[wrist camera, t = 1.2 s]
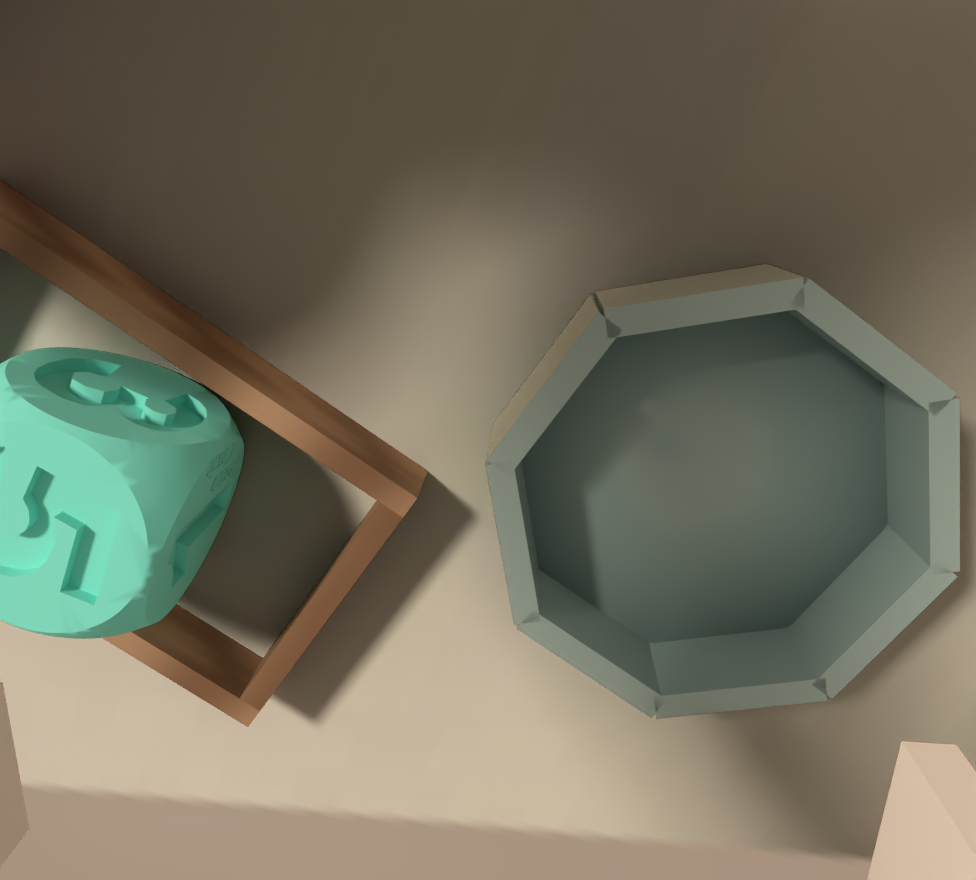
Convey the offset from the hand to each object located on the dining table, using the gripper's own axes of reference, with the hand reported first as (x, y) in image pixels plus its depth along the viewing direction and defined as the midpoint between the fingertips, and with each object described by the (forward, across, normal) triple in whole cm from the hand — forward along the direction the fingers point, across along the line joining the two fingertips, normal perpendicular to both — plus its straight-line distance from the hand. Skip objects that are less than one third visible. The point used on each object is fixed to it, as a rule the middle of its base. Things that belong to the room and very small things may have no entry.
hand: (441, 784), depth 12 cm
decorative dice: (+22, -15, -4) cm, 27 cm away
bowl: (+21, +8, -3) cm, 23 cm away
